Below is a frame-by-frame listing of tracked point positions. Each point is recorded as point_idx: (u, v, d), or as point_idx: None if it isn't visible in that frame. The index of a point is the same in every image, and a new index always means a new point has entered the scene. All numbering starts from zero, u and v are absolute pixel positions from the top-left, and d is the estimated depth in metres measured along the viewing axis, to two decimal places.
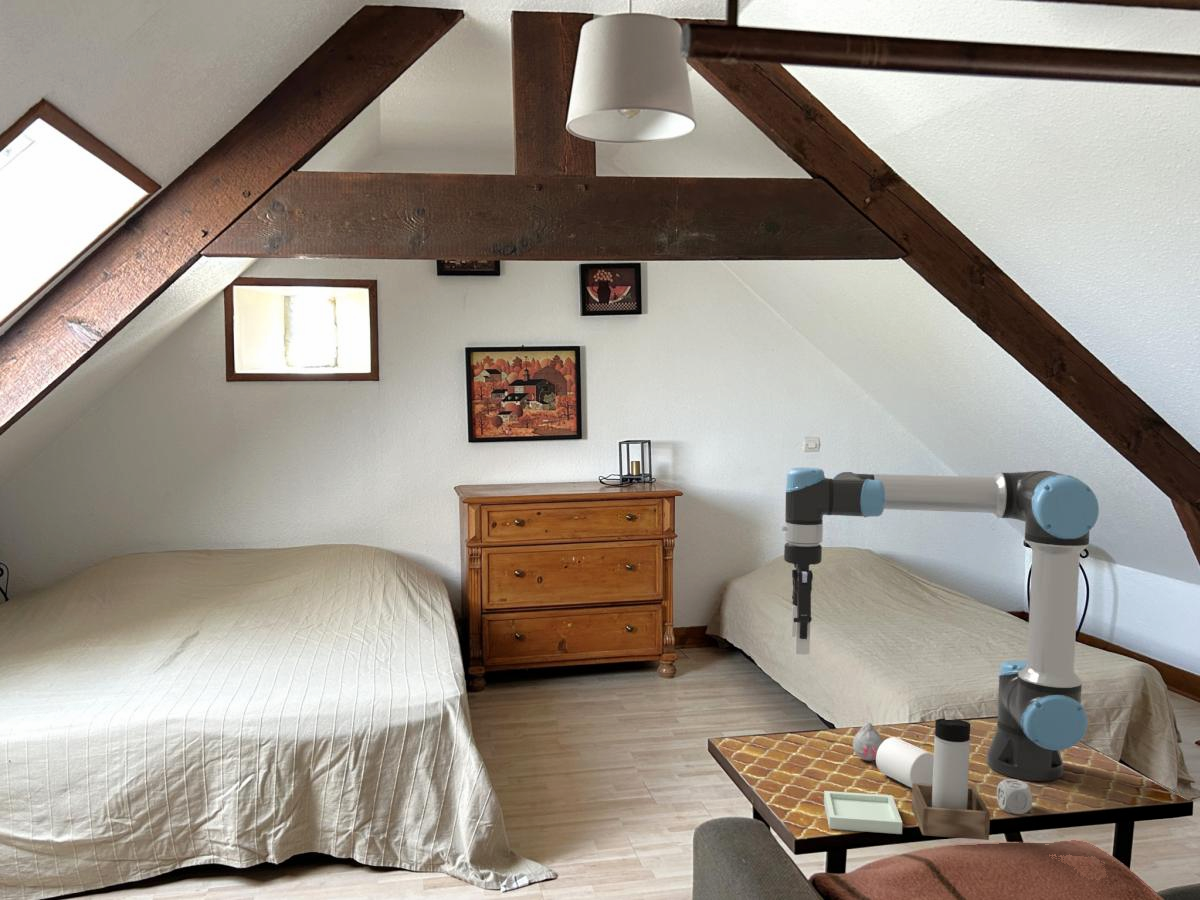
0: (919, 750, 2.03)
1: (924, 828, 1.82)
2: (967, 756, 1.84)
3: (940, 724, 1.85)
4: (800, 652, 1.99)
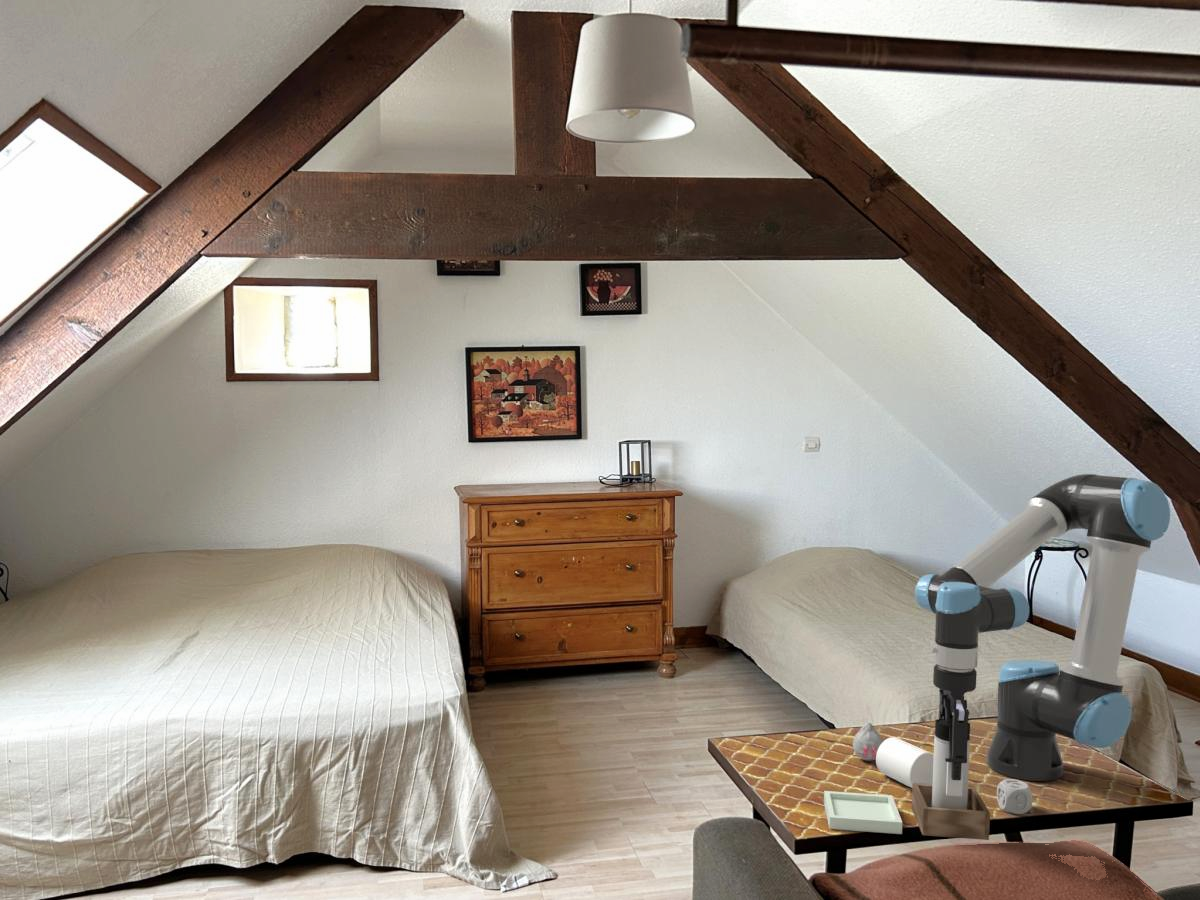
0: (919, 750, 2.03)
1: (924, 828, 1.82)
2: (967, 756, 1.84)
3: (940, 724, 1.85)
4: (952, 794, 1.83)
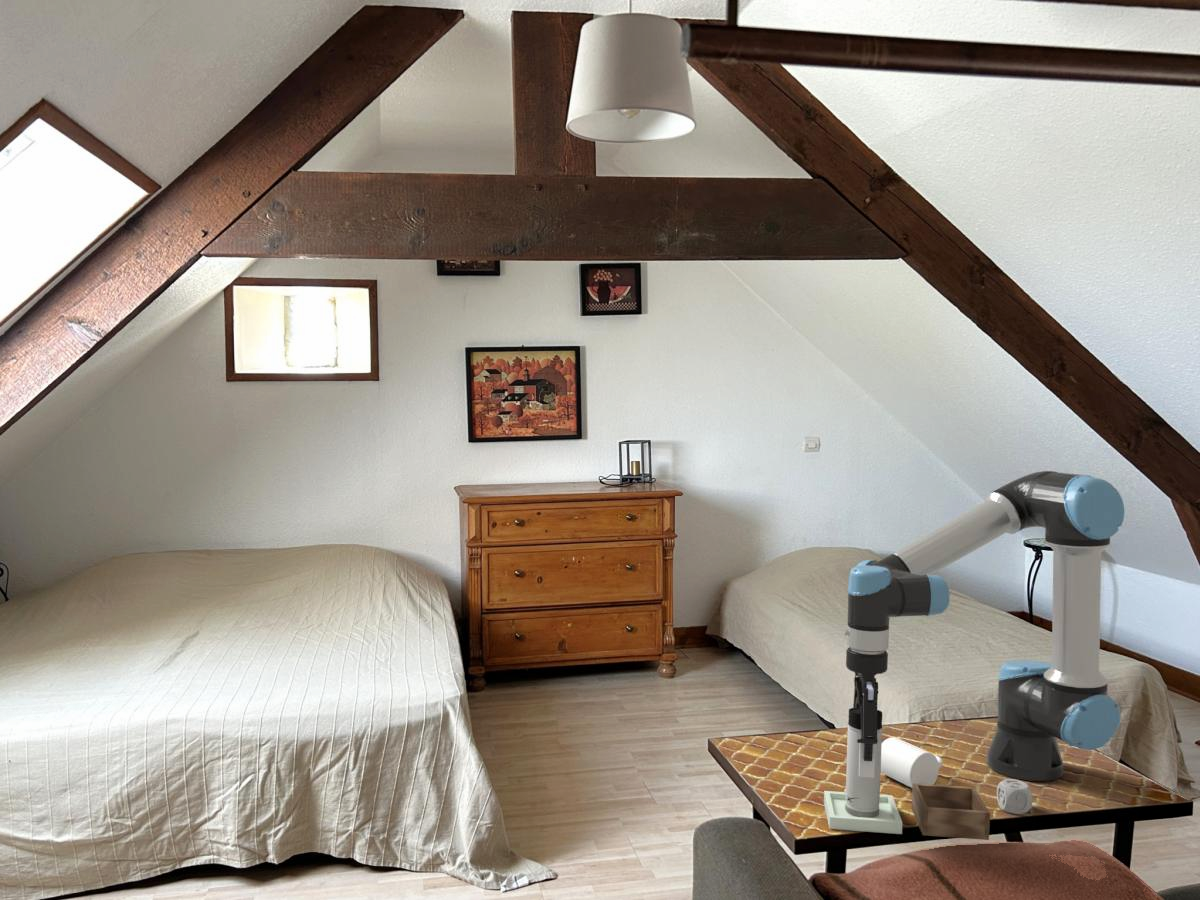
0: (919, 750, 2.03)
1: (924, 828, 1.82)
2: (879, 744, 1.86)
3: (852, 713, 1.87)
4: (864, 775, 1.84)
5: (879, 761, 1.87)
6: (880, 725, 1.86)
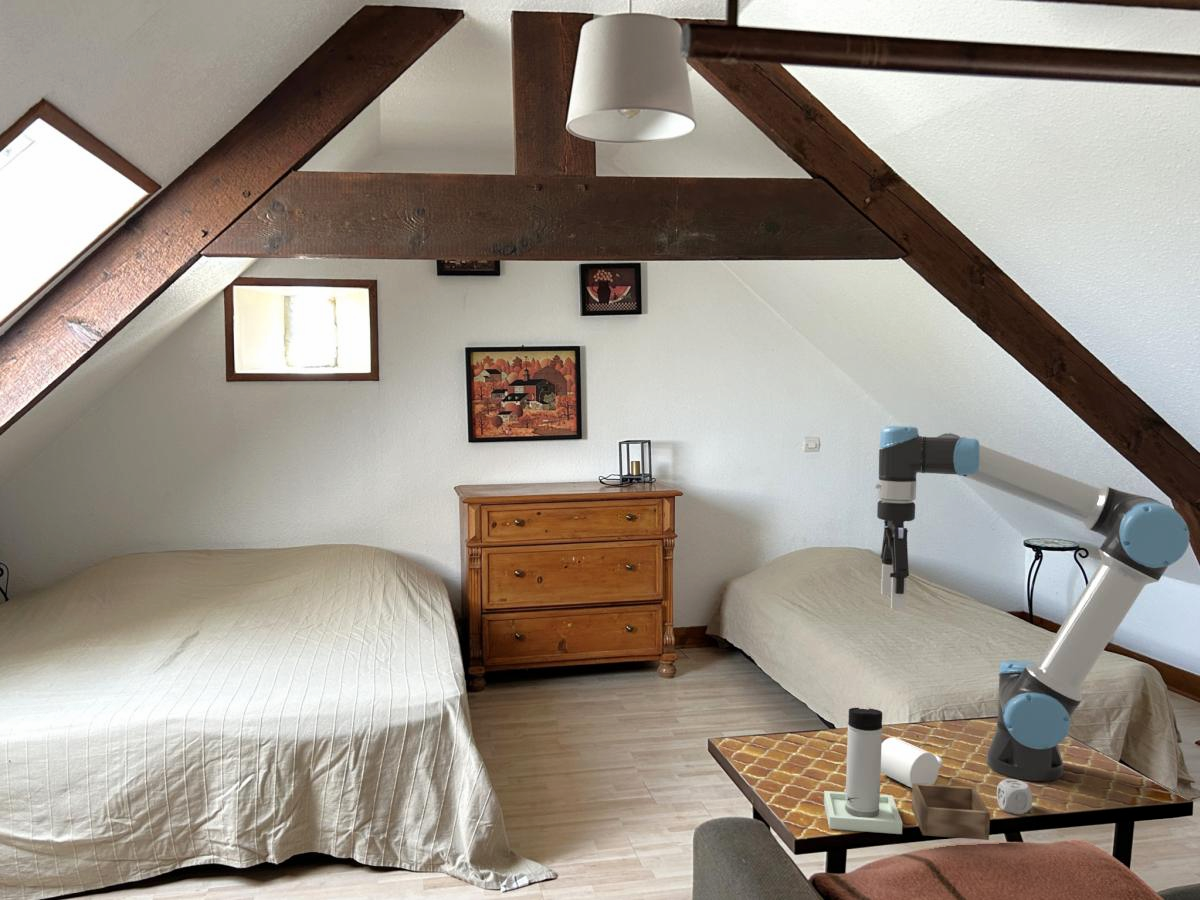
0: (919, 750, 2.03)
1: (924, 828, 1.82)
2: (879, 744, 1.86)
3: (852, 713, 1.87)
4: (896, 607, 2.01)
5: (879, 761, 1.87)
6: (880, 725, 1.86)
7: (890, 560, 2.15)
